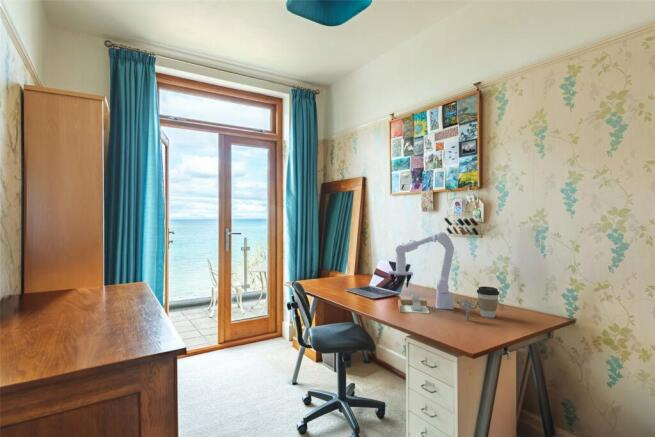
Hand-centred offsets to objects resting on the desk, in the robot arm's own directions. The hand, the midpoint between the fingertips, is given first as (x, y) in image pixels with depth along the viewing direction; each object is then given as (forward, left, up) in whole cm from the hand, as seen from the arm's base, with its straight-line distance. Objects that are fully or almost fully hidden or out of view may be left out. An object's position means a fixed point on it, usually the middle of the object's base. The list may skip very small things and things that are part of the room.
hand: (400, 287), depth 209 cm
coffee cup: (-45, +18, -11) cm, 50 cm away
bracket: (-8, +11, -10) cm, 16 cm away
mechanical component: (-32, +28, -11) cm, 44 cm away
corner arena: (-7, +11, -10) cm, 17 cm away
